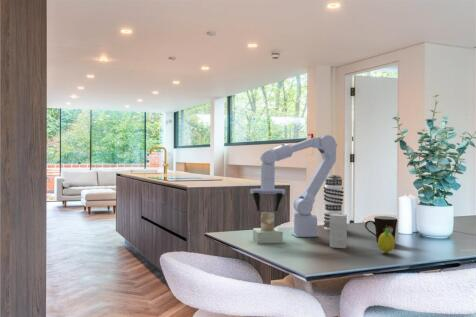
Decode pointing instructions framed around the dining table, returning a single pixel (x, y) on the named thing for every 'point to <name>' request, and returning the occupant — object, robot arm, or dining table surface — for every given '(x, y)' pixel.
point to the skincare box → (338, 231)
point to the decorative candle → (332, 198)
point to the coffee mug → (383, 225)
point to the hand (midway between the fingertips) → (267, 210)
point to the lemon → (386, 241)
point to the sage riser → (267, 236)
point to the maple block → (267, 221)
